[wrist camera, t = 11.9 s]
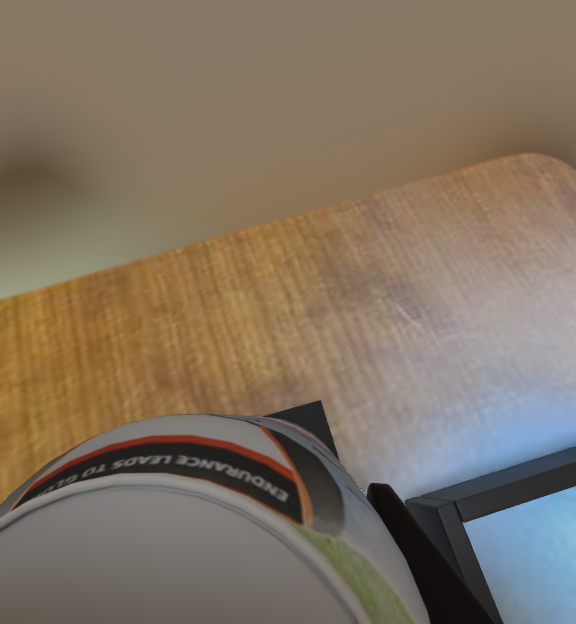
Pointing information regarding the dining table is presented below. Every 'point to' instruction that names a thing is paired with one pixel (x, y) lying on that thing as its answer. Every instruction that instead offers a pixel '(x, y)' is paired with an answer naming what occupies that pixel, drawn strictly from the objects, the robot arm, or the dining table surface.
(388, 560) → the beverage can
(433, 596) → the robot arm
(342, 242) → the dining table surface
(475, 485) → the square frame
